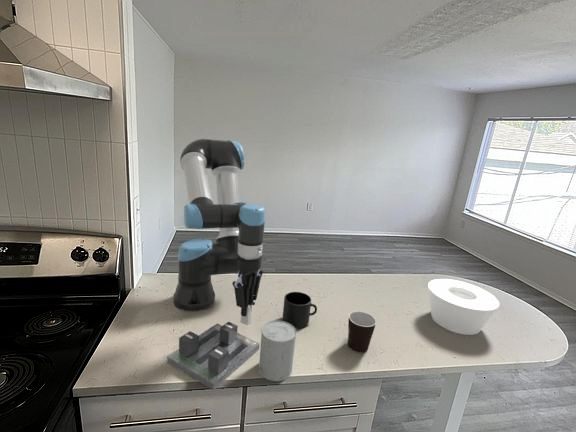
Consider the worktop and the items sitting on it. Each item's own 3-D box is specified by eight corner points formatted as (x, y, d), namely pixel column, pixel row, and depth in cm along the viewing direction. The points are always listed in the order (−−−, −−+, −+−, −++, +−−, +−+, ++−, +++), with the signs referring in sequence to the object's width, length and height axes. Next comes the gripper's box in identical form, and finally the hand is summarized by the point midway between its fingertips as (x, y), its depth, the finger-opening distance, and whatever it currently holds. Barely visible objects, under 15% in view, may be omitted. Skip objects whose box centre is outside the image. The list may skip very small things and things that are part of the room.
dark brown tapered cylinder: (366, 358, 100) (371, 330, 97) (340, 347, 104) (344, 319, 101) (377, 340, 109) (382, 313, 107) (353, 330, 114) (357, 304, 111)
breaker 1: (179, 351, 92) (179, 337, 91) (189, 344, 95) (190, 330, 94) (187, 356, 90) (188, 342, 89) (198, 349, 94) (198, 335, 93)
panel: (167, 362, 91) (167, 356, 90) (216, 328, 108) (217, 323, 107) (213, 390, 83) (213, 383, 82) (259, 349, 100) (259, 343, 99)
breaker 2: (208, 368, 87) (208, 353, 86) (218, 360, 90) (218, 345, 89) (218, 374, 85) (218, 358, 84) (228, 365, 89) (228, 350, 87)
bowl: (486, 316, 132) (494, 289, 129) (495, 349, 110) (504, 318, 107) (423, 299, 141) (429, 273, 138) (420, 326, 120) (426, 297, 117)
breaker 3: (219, 340, 98) (219, 326, 97) (228, 334, 102) (228, 320, 101) (228, 345, 97) (228, 331, 96) (236, 338, 100) (237, 325, 99)
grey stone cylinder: (258, 356, 96) (261, 320, 93) (290, 357, 97) (294, 321, 94) (258, 381, 87) (261, 341, 84) (294, 381, 88) (298, 342, 85)
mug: (318, 329, 112) (321, 305, 110) (283, 328, 111) (285, 305, 109) (313, 314, 121) (315, 292, 119) (281, 313, 120) (283, 291, 118)
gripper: (246, 265, 93) (242, 337, 99) (271, 252, 104) (266, 318, 110) (226, 258, 96) (223, 328, 102) (252, 246, 107) (248, 310, 113)
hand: (245, 322), depth 106 cm, fingers closed
